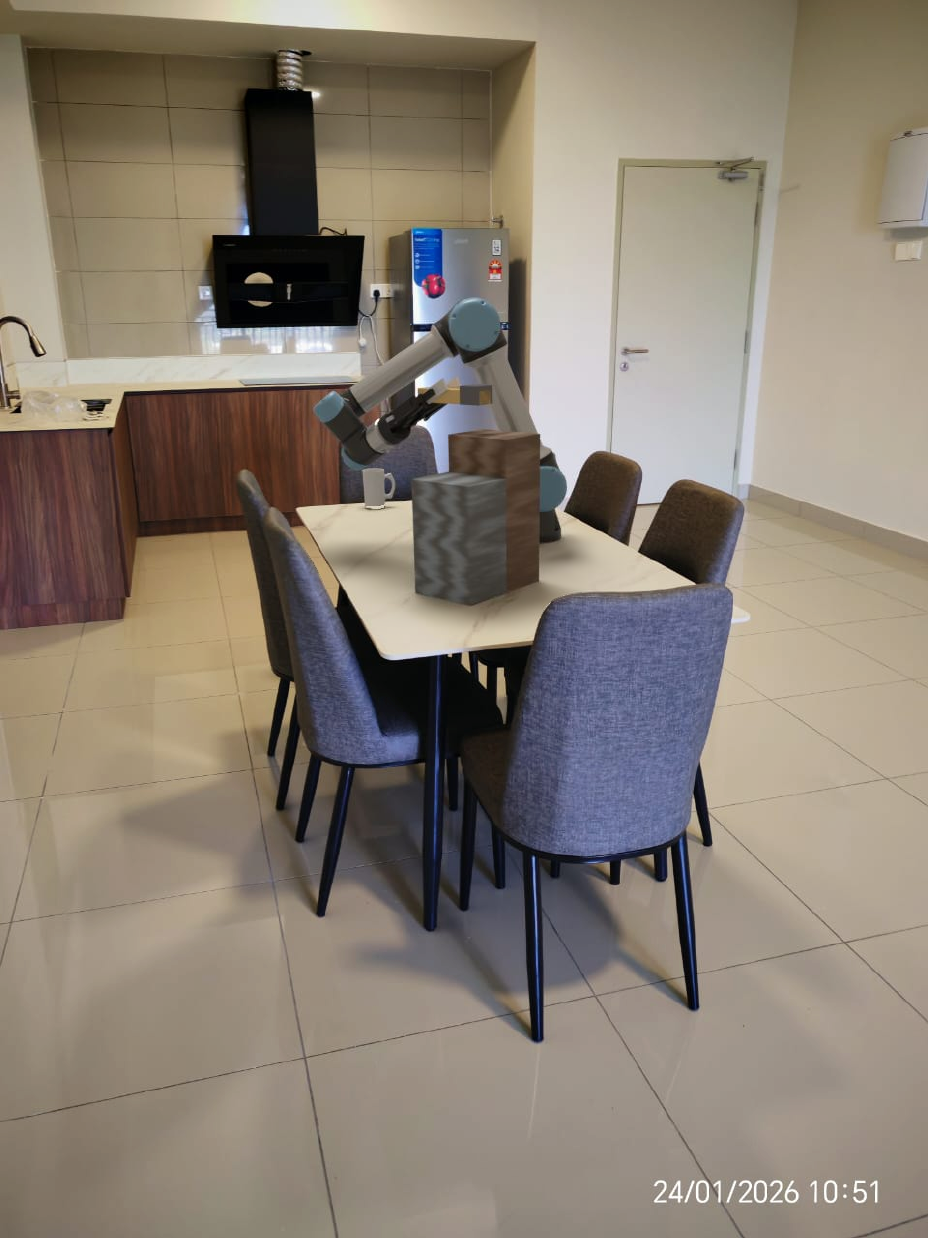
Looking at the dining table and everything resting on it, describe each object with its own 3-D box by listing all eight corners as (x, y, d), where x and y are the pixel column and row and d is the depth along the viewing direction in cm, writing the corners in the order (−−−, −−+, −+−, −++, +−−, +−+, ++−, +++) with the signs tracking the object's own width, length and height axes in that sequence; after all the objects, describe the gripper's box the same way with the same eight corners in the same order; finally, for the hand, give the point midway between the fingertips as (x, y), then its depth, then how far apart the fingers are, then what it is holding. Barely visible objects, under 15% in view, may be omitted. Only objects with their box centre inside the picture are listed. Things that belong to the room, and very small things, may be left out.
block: (416, 401, 209) (415, 383, 208) (431, 400, 213) (430, 382, 212) (477, 405, 198) (477, 386, 197) (492, 403, 202) (492, 384, 201)
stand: (415, 592, 203) (409, 440, 193) (484, 569, 220) (483, 428, 210) (470, 605, 193) (468, 446, 183) (539, 580, 210) (540, 433, 200)
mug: (364, 510, 290) (362, 472, 286) (364, 506, 296) (362, 468, 292) (396, 509, 290) (394, 471, 287) (395, 505, 297) (394, 467, 293)
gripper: (419, 441, 227) (483, 395, 211) (369, 449, 214) (433, 401, 198) (407, 413, 227) (470, 365, 211) (356, 420, 215) (419, 369, 199)
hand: (452, 383), depth 205 cm, fingers closed on block, 4 cm apart
